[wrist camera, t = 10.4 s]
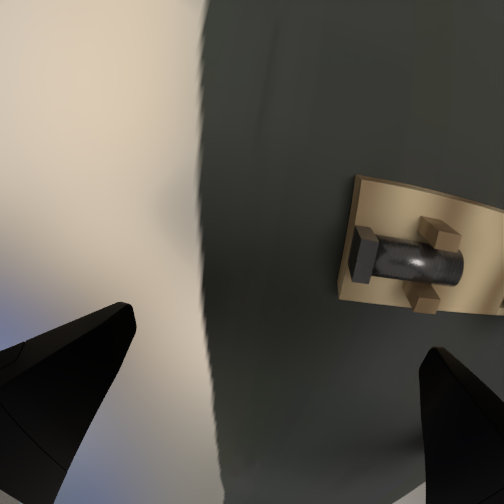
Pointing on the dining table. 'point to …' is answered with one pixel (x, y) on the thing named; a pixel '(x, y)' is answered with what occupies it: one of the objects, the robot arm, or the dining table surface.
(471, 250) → the dock
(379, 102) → the dining table surface
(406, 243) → the lock pin
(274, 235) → the dining table surface
